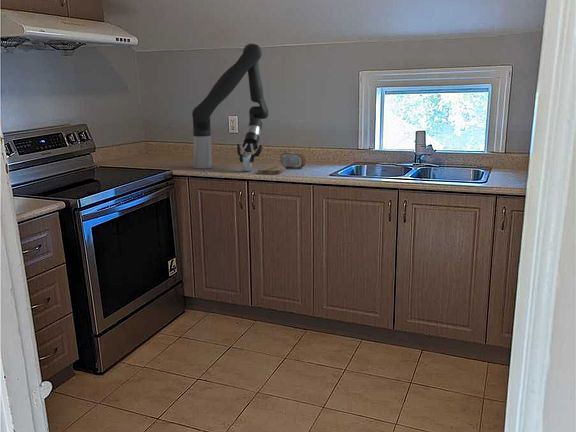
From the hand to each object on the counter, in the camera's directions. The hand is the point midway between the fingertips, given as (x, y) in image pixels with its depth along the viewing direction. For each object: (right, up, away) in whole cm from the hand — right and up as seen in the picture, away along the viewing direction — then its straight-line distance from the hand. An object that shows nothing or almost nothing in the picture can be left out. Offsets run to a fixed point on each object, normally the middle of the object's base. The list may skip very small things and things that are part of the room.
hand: (246, 161), depth 277 cm
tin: (+24, -2, +14) cm, 28 cm away
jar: (0, -4, +3) cm, 5 cm away
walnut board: (+13, -5, 0) cm, 14 cm away
